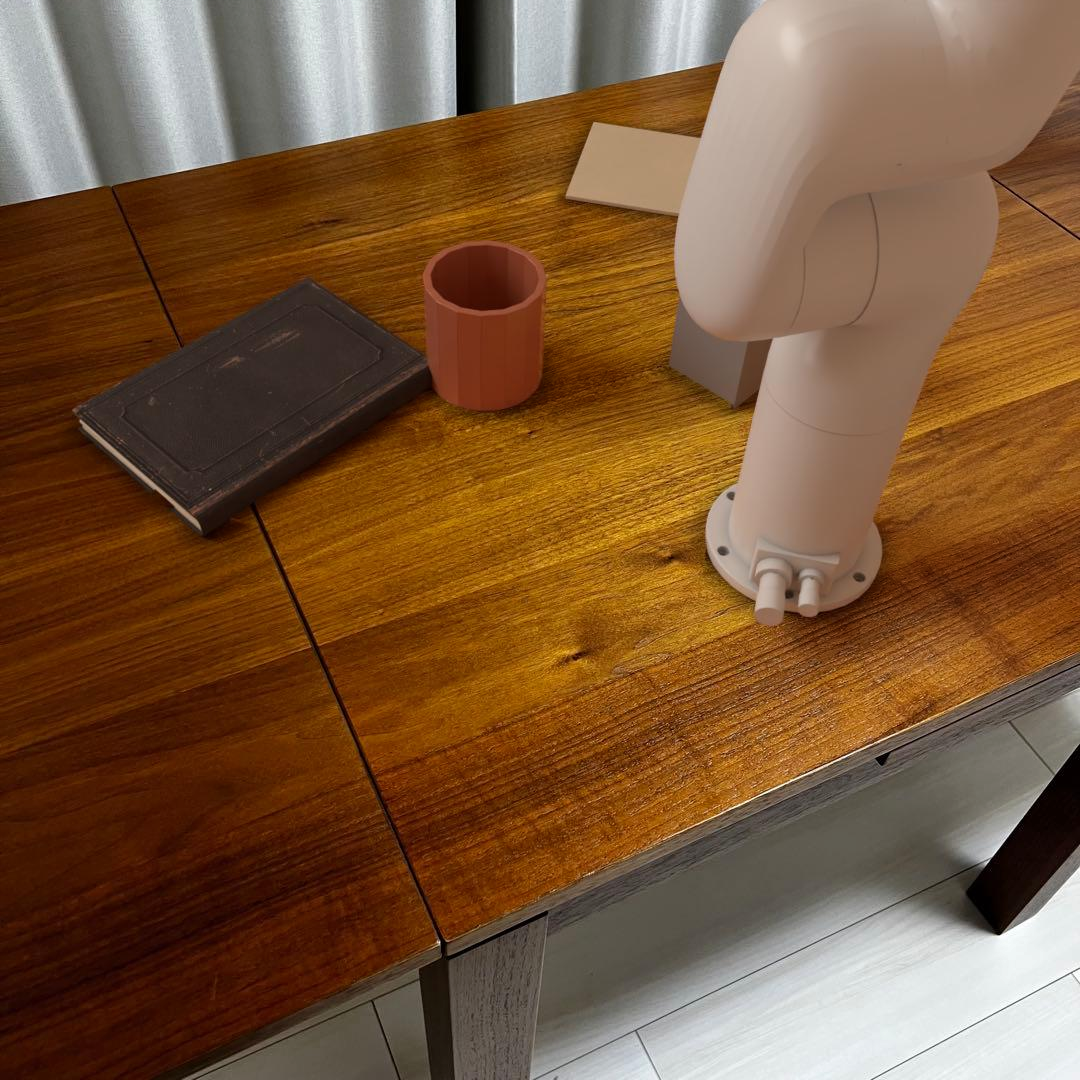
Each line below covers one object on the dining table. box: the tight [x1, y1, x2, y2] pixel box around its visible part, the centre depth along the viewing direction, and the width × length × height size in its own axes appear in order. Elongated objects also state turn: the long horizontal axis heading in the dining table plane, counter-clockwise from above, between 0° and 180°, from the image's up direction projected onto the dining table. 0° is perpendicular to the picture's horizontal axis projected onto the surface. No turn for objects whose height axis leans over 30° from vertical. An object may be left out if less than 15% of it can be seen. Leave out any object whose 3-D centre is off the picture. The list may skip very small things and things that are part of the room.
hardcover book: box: [71, 276, 432, 537], centre depth 93 cm, size 16×23×2 cm
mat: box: [565, 121, 701, 218], centre depth 118 cm, size 14×14×1 cm
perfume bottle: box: [668, 294, 773, 411], centre depth 92 cm, size 7×7×18 cm
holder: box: [422, 240, 548, 412], centre depth 93 cm, size 9×9×10 cm
